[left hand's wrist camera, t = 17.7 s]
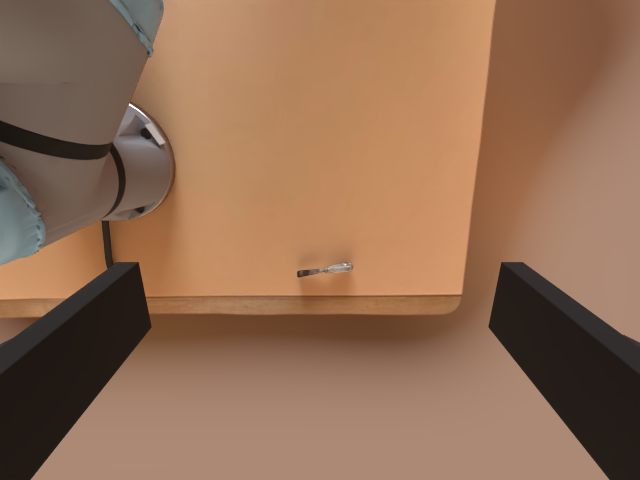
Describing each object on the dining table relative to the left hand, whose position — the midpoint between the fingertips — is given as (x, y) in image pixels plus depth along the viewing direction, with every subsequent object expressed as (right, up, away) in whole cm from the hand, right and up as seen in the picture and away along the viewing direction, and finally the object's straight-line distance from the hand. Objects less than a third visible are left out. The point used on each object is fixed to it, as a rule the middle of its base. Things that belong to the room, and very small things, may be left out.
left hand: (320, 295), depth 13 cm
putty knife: (+1, -2, +37) cm, 37 cm away
